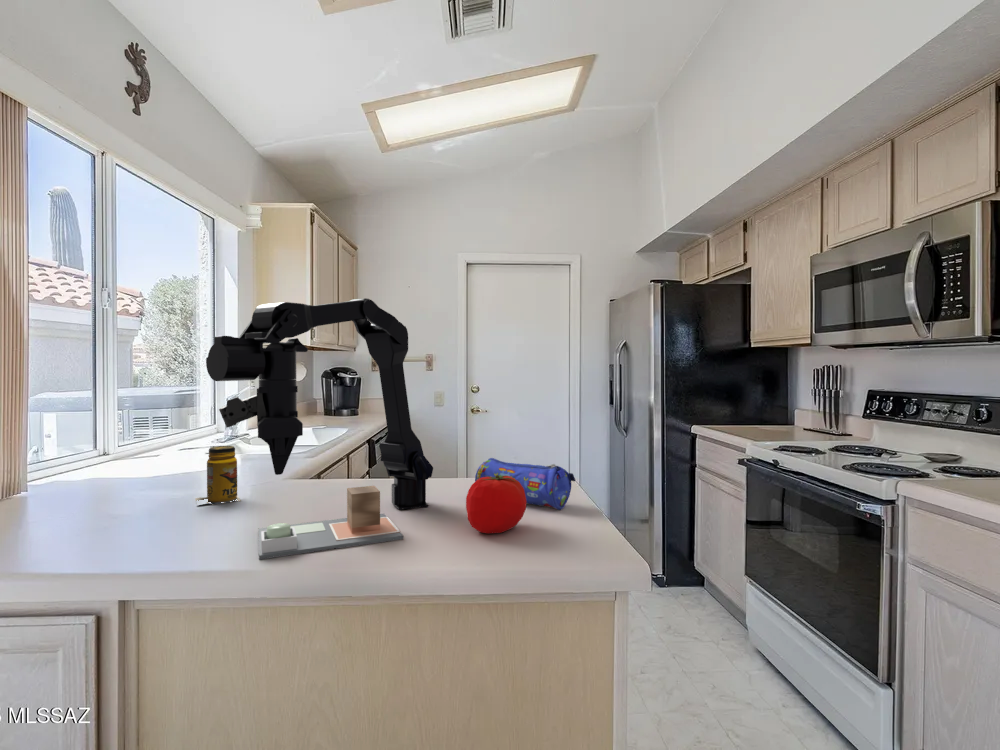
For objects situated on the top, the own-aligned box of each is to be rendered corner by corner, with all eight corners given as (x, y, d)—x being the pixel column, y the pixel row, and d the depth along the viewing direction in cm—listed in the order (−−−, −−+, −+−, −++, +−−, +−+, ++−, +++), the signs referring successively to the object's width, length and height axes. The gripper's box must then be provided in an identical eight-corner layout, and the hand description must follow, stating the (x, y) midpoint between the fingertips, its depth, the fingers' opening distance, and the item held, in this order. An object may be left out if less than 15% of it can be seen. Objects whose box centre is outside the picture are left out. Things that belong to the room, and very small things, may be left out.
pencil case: (576, 506, 115) (576, 462, 115) (558, 515, 108) (558, 468, 107) (492, 492, 127) (492, 452, 127) (471, 499, 120) (471, 458, 119)
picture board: (383, 516, 106) (383, 503, 106) (403, 538, 92) (403, 524, 92) (258, 531, 96) (258, 517, 96) (259, 559, 83) (258, 542, 83)
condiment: (241, 501, 117) (240, 447, 117) (197, 507, 113) (196, 451, 112) (236, 494, 123) (236, 443, 123) (195, 499, 119) (194, 446, 119)
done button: (289, 533, 89) (289, 522, 89) (291, 540, 86) (291, 528, 86) (266, 536, 88) (266, 524, 88) (267, 543, 85) (267, 531, 85)
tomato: (450, 531, 96) (450, 476, 96) (494, 516, 106) (495, 466, 106) (496, 545, 89) (497, 485, 89) (540, 527, 99) (540, 473, 99)
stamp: (374, 522, 100) (374, 485, 100) (380, 529, 95) (380, 491, 95) (347, 525, 98) (347, 488, 97) (351, 533, 93) (351, 494, 93)
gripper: (225, 378, 91) (226, 468, 92) (218, 382, 75) (220, 491, 75) (294, 378, 96) (294, 463, 97) (302, 381, 79) (303, 484, 80)
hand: (278, 474), depth 87 cm, fingers closed
